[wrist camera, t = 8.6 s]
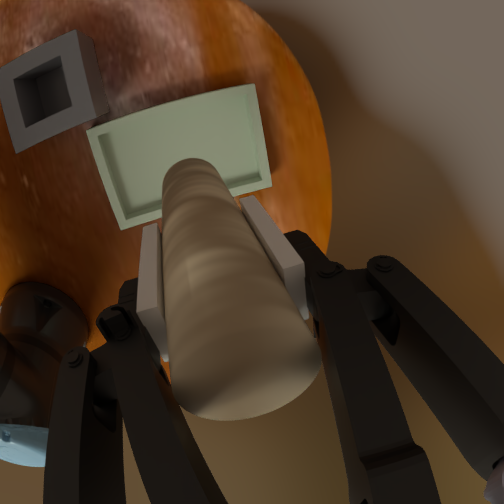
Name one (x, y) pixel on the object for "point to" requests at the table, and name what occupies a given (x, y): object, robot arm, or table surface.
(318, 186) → the table surface
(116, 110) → the table surface
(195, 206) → the dowel
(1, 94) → the square block with hole
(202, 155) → the tray
